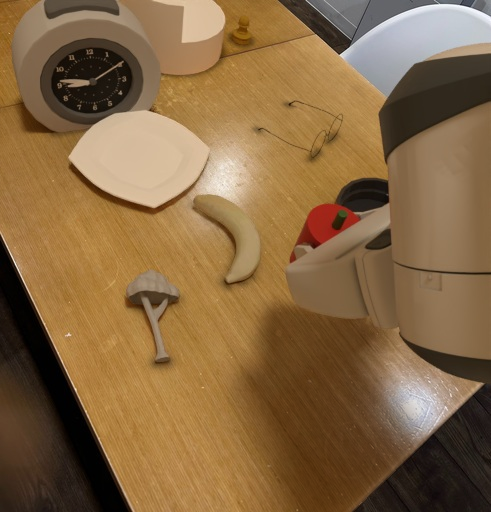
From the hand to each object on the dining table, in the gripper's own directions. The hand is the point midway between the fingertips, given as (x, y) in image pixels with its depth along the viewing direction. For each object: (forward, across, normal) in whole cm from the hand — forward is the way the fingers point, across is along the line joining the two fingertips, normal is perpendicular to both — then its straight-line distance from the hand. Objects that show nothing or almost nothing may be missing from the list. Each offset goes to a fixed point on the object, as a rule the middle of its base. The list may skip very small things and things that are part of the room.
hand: (324, 236), depth 51 cm
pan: (+15, -23, +11) cm, 30 cm away
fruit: (+24, -2, +3) cm, 25 cm away
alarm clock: (+48, 0, -20) cm, 52 cm away
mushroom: (+20, +13, +7) cm, 25 cm away
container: (+56, -24, -28) cm, 67 cm away
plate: (+38, 0, -11) cm, 39 cm away
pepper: (+3, 0, +4) cm, 5 cm away
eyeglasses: (+32, -29, -6) cm, 44 cm away
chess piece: (+52, -38, -25) cm, 70 cm away
